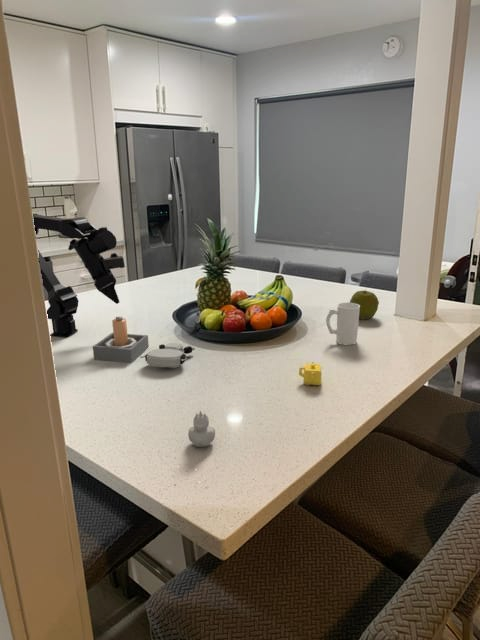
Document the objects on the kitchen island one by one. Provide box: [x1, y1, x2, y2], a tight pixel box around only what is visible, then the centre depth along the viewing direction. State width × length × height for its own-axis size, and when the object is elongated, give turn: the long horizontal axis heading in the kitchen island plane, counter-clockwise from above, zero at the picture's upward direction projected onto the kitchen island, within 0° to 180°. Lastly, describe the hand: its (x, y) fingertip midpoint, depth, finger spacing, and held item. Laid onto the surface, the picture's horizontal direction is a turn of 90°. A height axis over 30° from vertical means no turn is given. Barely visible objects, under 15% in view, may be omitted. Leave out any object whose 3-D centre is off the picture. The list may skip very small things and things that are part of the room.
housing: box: [92, 332, 150, 364], centre depth 145 cm, size 12×12×4 cm
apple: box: [349, 290, 380, 320], centre depth 173 cm, size 10×10×11 cm
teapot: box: [298, 362, 322, 386], centre depth 125 cm, size 8×6×5 cm
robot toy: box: [139, 342, 196, 369], centre depth 138 cm, size 12×4×15 cm
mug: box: [325, 302, 360, 346], centre depth 151 cm, size 10×7×12 cm, turn 89°
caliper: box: [195, 311, 201, 324], centre depth 173 cm, size 20×1×6 cm, turn 174°
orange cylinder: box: [111, 316, 128, 347], centre depth 143 cm, size 4×4×10 cm
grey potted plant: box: [187, 410, 216, 448], centre depth 98 cm, size 5×7×8 cm
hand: (116, 300), depth 154 cm, fingers open, 9 cm apart
